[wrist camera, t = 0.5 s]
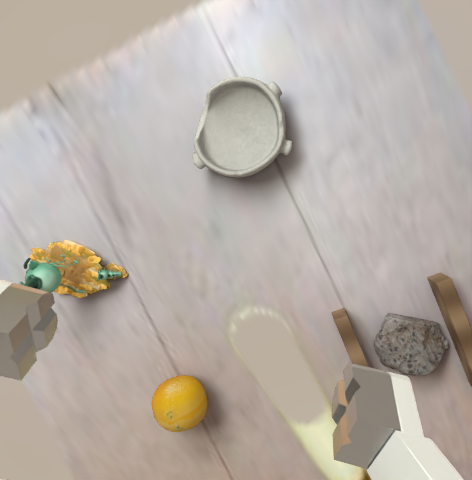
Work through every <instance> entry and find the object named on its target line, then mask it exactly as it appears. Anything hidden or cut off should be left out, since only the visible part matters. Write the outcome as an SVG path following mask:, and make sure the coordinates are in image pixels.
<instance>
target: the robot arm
mask: <svg viewBox="0 0 472 480" xmlns="http://www.w3.org/2000/svg"><path fill="white" fill-rule="evenodd" d="M54 303H55V302H54V297H53V294H52V293H50V292H46V291H43V290H39V289H35V288H31V287H27V286H24V285H20V284H16V283H12V282H8V281H4V280H0V376H4V377H8V378H13V379H17V380H22V379H23V378H24V376H25V375H26V374H27V372H28V371H29V370H30V368H31V367H32V366H33V364H34V363H35V362H36V360H37V358H36V352H38V351H40V350H42V349H44V348H46V347H47V346H48V344H49V343H50V341H51V340H52V339H53V336H54V334H55V331H56V329H57V321H58V320H57V314H56V313H55V312H54V311H53V309H52V308H51V307H52V305H53V304H54ZM343 374H344V380H341V381H339V382H338V384H337V386H336V388H335V391H334V396H333V401H332V418H333V419H334V421H335V423H336V424H337V427H336V429H335V431H334V433H333V450H334V460H337V461H341V462H344V463H348V464H351V465H355V466H359V467H362V468H366V469H368V470H367V472H368V474H369V475H370V477H371V479H372V480H464V479H463V478H462V477H461V476H460V474H459V473H458V472H457V471H456V469H455V468H454V467H453V466H452V464H451V463H450V462H449V461H448V460H447V458H446V457H445V456H444V455H443V453H442V452H441V451H440V450H439V448H438V447H437V446H436V445H435V443H434V442H433V441H432V440H431V439H429V438H426V437H424V432H423V428H422V424H421V420H420V416H419V412H418V408H417V404H416V400H415V396H414V392H413V388H412V384H411V380H410V379H409V377H408V376H404V375H400V374H395V373H391V372H386V371H383V370H379V369H374V368H370V367H366V366H361V365H357V364H352V363H349V364H347V365H346V367H345V369H344V371H343ZM0 480H8V479H4V478H0Z"/></svg>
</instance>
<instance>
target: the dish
mask: <svg viewBox="0 0 472 480" xmlns="http://www.w3.org/2000/svg"><path fill="white" fill-rule="evenodd" d="M281 95H282V92H281V90H280V88H279V86H278V85H276V84H275V83H274V82H271V83H270V84H269V85H266V84H264V83H263V82H261V81H259V80H256V79H253V78H247V77H234V78H229V79H226V80H223V81H221V82H219V83H218V84H216V85H214V86H213V87H212V88H211V89H210V90H209V91H208V93H207V99H206V102H205V107H204V110H203V113H202V116H201V119H200V123H199V125H198V129H197V132H196V136H195V139H194V147H195V150H196V153H195V154H193V161H194V164H195V165H196V166H197V167H198V168H199V169H202V168H204V167H205V166H207V167H208V168H210V169H211V170H213V171H214V172H216V173H218V174H221V175H224V176H227V177H236V178H241V177H247V176H251V175H253V174H256V173H258V172H260V171H261V170H263V169H264V168H266V167H267V166H268V165H270V164H271V163H272V162H273V161H274V160H275V158H276V157H277V156H278V155H279V154H283V155H284V156H287V155H289V153H290V152H291V151H292V141H290V140H286V139H285V134H286V120H285V113H284V109H283V106H282V103H281V101H280V98H279V97H280V96H281Z"/></svg>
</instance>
